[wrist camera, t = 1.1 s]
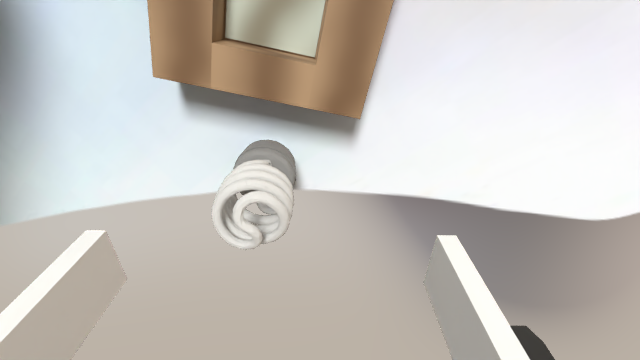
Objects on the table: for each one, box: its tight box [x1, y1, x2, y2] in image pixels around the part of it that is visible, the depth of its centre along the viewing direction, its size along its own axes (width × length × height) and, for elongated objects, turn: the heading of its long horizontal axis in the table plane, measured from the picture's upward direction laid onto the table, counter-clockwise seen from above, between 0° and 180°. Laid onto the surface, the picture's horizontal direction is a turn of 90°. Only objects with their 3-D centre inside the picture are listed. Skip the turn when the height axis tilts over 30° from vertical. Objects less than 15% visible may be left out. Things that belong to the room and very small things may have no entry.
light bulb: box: [211, 140, 296, 249], centre depth 24 cm, size 6×6×12 cm
